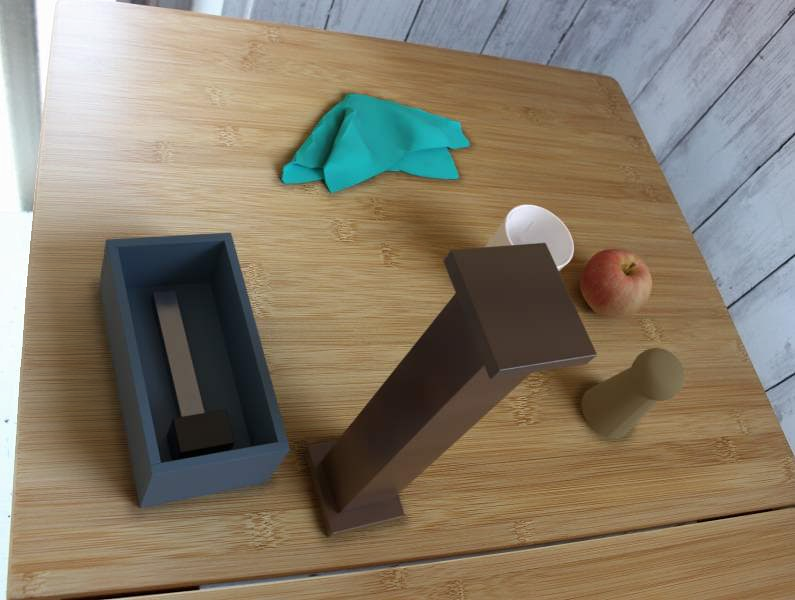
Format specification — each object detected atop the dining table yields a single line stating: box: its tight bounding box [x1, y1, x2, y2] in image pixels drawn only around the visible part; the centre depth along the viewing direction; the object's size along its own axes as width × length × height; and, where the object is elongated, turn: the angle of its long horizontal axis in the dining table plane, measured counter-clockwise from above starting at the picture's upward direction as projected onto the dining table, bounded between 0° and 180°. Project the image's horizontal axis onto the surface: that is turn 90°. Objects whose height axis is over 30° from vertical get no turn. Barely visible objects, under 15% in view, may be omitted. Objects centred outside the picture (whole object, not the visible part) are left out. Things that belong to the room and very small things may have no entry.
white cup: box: [484, 203, 575, 272], centre depth 88 cm, size 8×8×10 cm
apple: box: [579, 248, 653, 320], centre depth 94 cm, size 8×8×8 cm
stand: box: [303, 243, 598, 539], centre depth 61 cm, size 8×7×32 cm
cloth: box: [281, 93, 471, 194], centre depth 96 cm, size 26×14×2 cm, turn 112°
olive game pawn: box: [580, 347, 686, 440], centre depth 84 cm, size 6×6×11 cm
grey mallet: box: [151, 290, 235, 461], centre depth 71 cm, size 16×4×4 cm, turn 20°
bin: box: [98, 232, 291, 509], centre depth 70 cm, size 21×11×8 cm, turn 19°
